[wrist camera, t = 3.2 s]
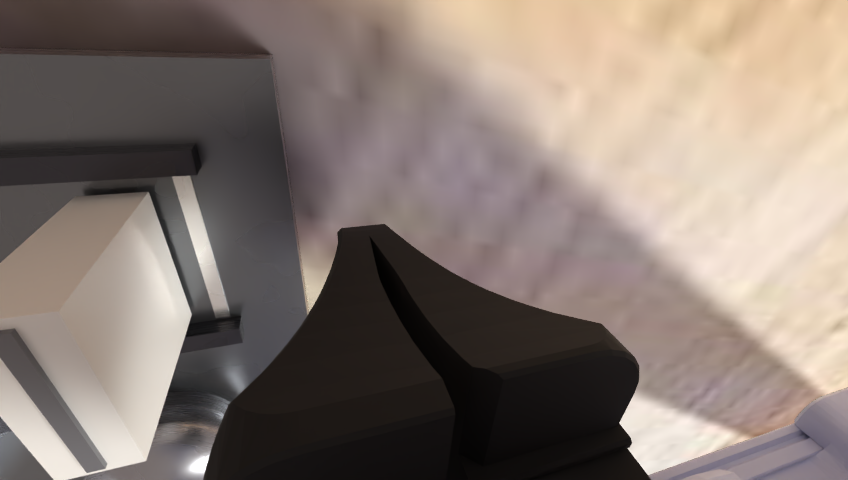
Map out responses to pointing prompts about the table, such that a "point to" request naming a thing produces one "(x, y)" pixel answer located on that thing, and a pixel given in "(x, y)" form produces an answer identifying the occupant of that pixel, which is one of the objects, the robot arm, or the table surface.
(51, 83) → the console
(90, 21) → the table surface
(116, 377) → the fader
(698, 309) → the table surface
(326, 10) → the table surface
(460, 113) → the table surface
